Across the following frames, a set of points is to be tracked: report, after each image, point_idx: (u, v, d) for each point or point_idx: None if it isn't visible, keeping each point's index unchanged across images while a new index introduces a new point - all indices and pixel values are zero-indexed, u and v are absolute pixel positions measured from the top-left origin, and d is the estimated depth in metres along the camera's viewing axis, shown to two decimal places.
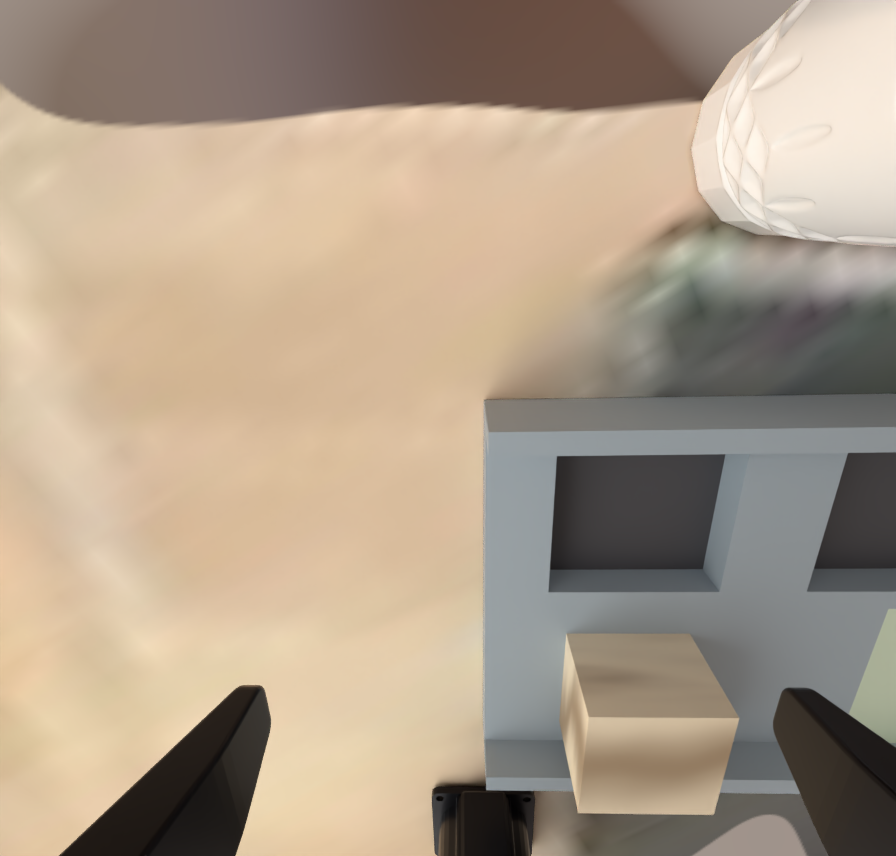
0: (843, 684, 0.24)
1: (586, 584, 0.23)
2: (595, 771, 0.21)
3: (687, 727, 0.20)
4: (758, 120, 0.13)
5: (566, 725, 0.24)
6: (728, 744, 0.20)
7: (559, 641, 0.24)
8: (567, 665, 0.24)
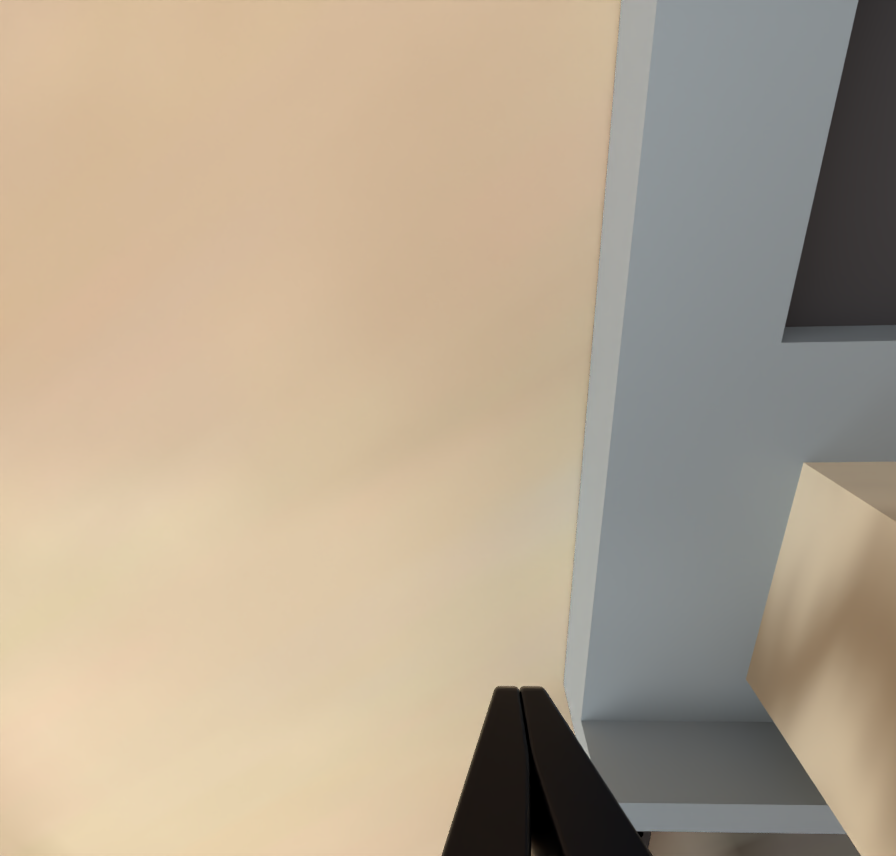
0: None
1: (863, 335, 0.10)
2: None
3: None
4: None
5: (797, 682, 0.10)
6: None
7: (783, 484, 0.10)
8: (809, 536, 0.10)
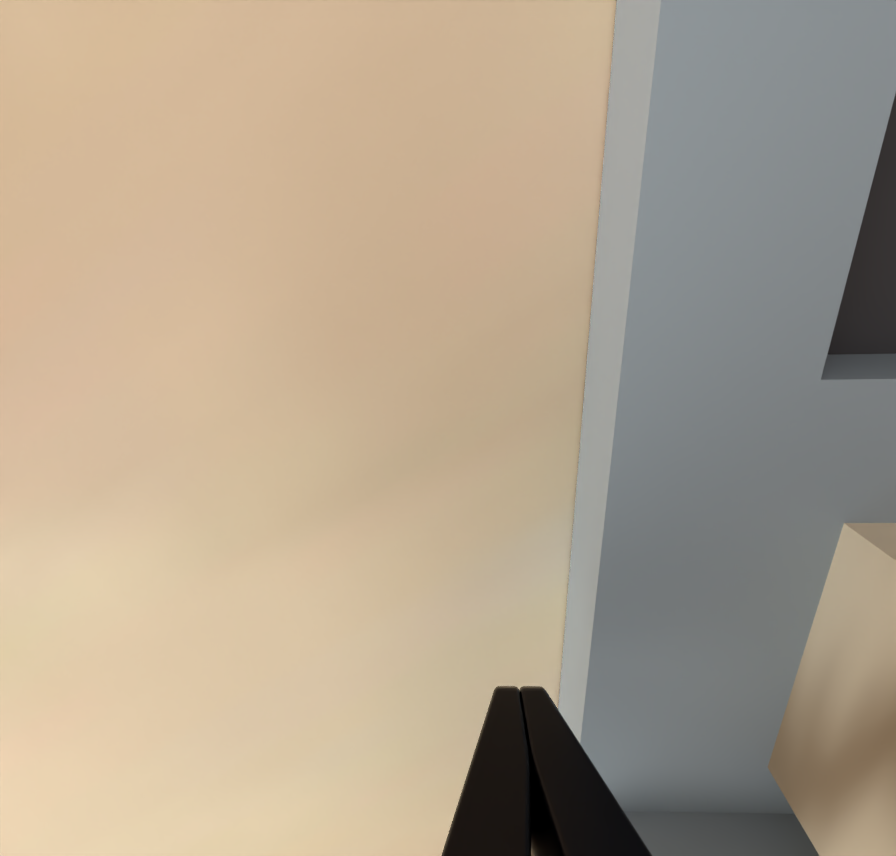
0: None
1: None
2: None
3: None
4: None
5: (835, 790, 0.08)
6: None
7: (819, 548, 0.08)
8: (852, 615, 0.08)
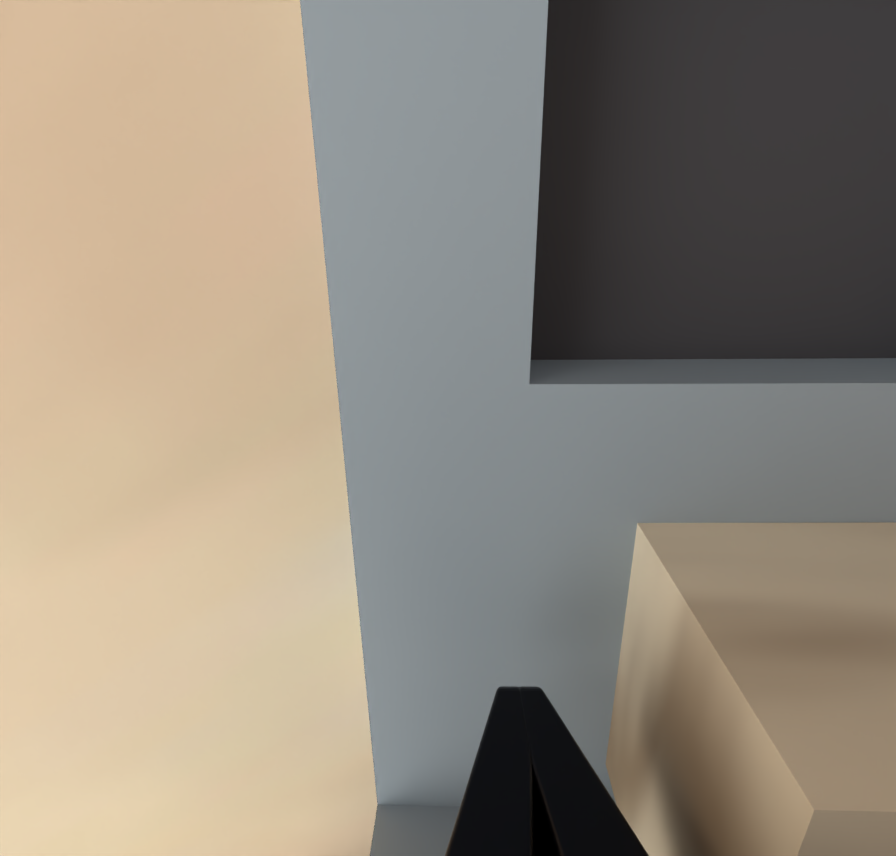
0: None
1: (642, 374, 0.08)
2: None
3: None
4: None
5: (635, 785, 0.09)
6: None
7: (561, 549, 0.08)
8: (641, 613, 0.08)
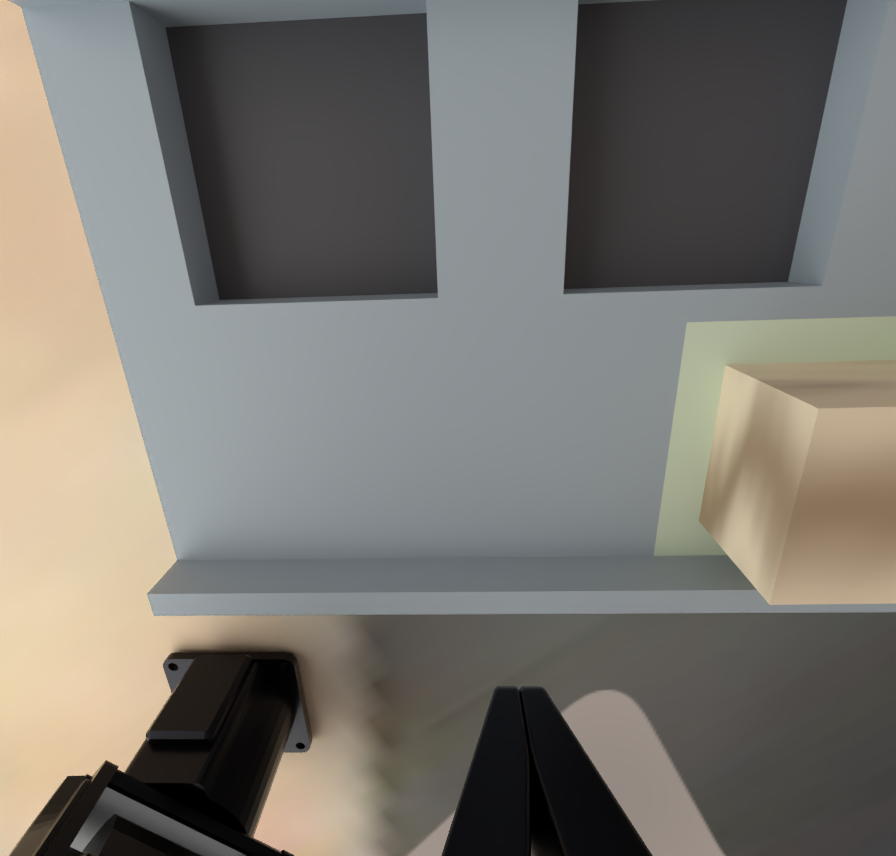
0: (644, 458, 0.17)
1: (259, 301, 0.16)
2: (811, 521, 0.13)
3: None
4: None
5: (724, 504, 0.16)
6: None
7: (233, 392, 0.17)
8: (729, 410, 0.16)
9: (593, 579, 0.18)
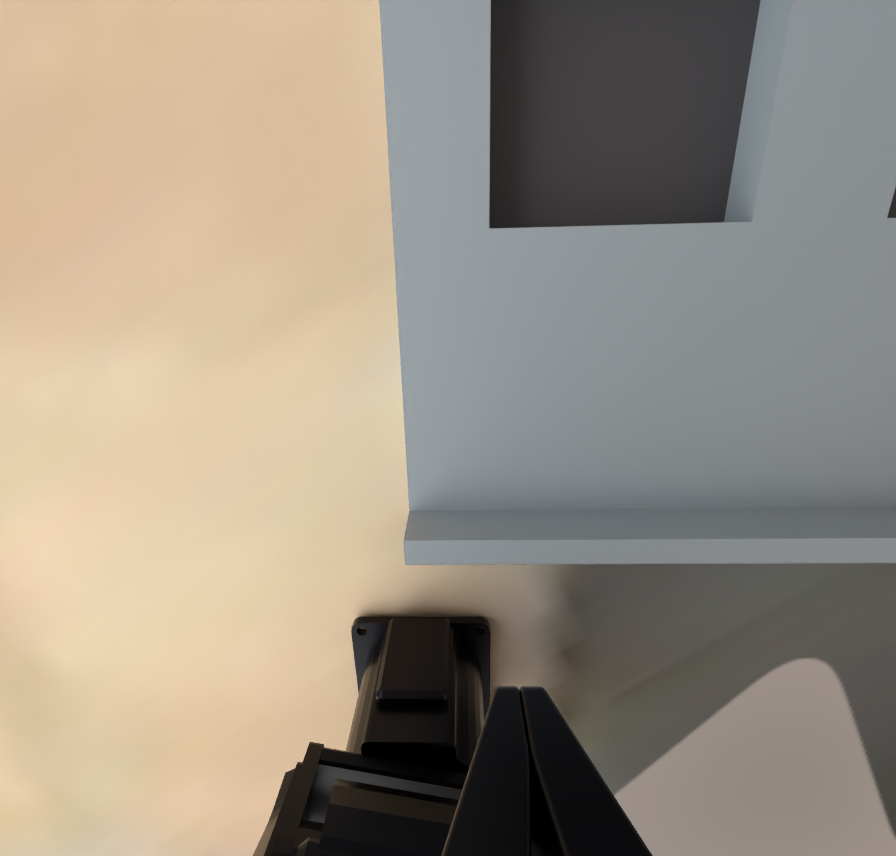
0: None
1: None
2: None
3: None
4: None
5: None
6: None
7: (510, 325, 0.16)
8: None
9: (873, 528, 0.17)
